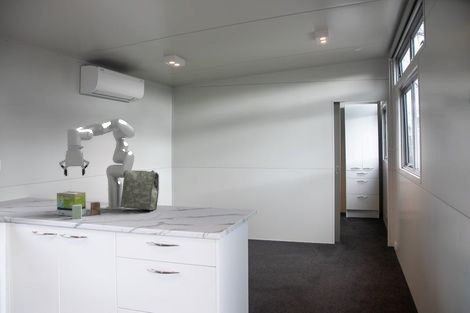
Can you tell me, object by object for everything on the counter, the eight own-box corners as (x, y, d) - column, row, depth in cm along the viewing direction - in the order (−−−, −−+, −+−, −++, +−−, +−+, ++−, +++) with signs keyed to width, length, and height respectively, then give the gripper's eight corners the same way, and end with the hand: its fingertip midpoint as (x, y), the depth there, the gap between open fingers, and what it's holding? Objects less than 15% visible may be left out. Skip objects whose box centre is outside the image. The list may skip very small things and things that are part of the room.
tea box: (56, 215, 221) (56, 192, 220) (68, 212, 230) (68, 191, 230) (74, 216, 216) (74, 193, 216) (86, 213, 225) (86, 191, 225)
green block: (82, 217, 215) (81, 204, 214) (81, 218, 210) (80, 205, 210) (73, 217, 213) (73, 204, 213) (72, 219, 208) (72, 206, 208)
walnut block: (98, 213, 226) (98, 201, 225) (100, 214, 221) (100, 202, 221) (90, 214, 223) (90, 202, 223) (92, 215, 219) (92, 203, 219)
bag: (158, 210, 241) (162, 172, 245) (149, 210, 226) (154, 169, 230) (128, 207, 244) (132, 170, 248) (118, 207, 228) (123, 167, 233)
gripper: (90, 148, 217) (90, 174, 217) (60, 148, 212) (60, 175, 213) (88, 148, 210) (88, 175, 210) (57, 148, 205) (58, 176, 205)
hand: (74, 175), depth 211 cm, fingers open, 9 cm apart
